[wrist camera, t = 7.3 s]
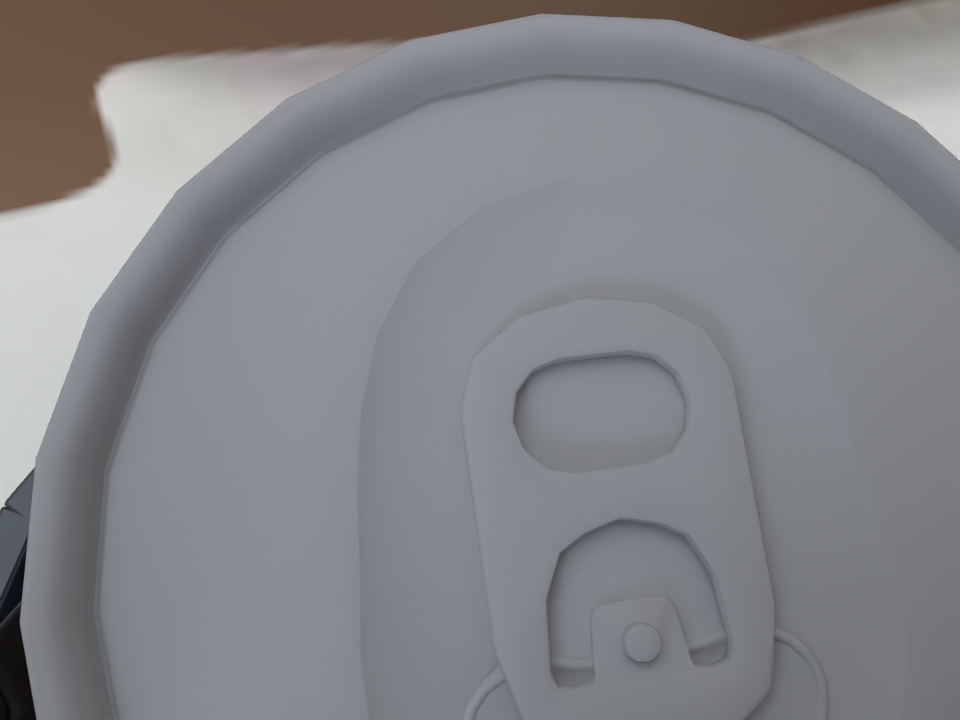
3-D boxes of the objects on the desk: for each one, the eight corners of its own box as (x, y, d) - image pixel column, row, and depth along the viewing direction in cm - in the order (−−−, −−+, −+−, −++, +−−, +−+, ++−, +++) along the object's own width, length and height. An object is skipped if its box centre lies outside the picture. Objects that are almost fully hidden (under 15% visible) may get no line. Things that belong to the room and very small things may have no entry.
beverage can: (328, 705, 14) (-6, 1446, 3) (300, 418, 15) (-41, 22, 4) (612, 661, 15) (1374, 1110, 3) (568, 385, 16) (1039, -55, 4)
